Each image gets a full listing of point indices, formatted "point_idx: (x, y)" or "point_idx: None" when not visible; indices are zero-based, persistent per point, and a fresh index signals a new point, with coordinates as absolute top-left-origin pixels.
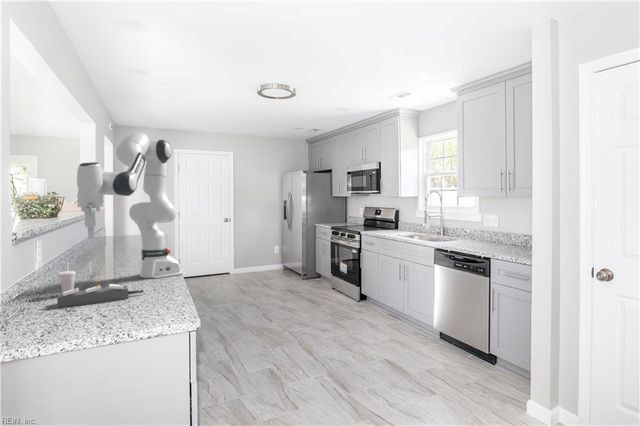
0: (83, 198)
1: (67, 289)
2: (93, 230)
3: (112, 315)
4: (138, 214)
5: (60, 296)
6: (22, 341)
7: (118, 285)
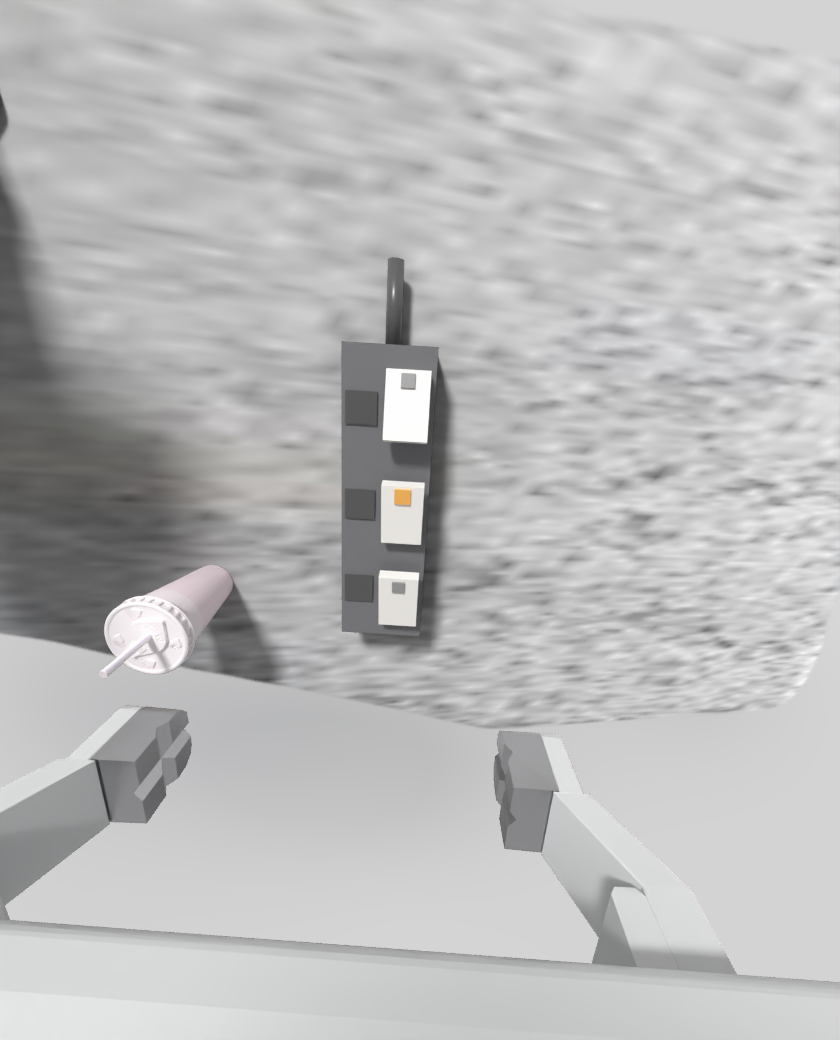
0: None
1: (221, 596)
2: (669, 876)
3: (671, 446)
4: None
5: (406, 626)
6: (736, 683)
7: (406, 393)
